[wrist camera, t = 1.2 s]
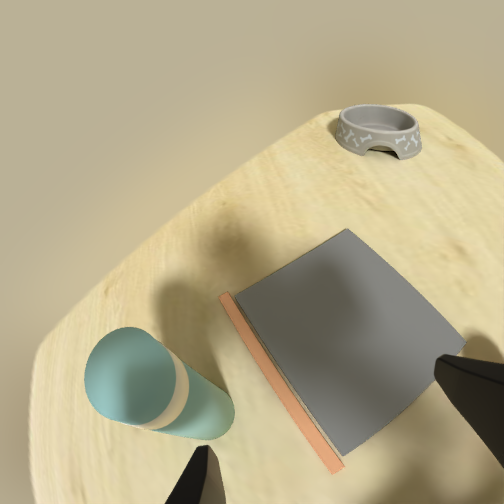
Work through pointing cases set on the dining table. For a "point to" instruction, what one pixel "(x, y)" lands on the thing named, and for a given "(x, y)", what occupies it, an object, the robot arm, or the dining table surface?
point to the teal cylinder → (154, 388)
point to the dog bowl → (378, 130)
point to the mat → (349, 336)
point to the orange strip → (282, 388)
